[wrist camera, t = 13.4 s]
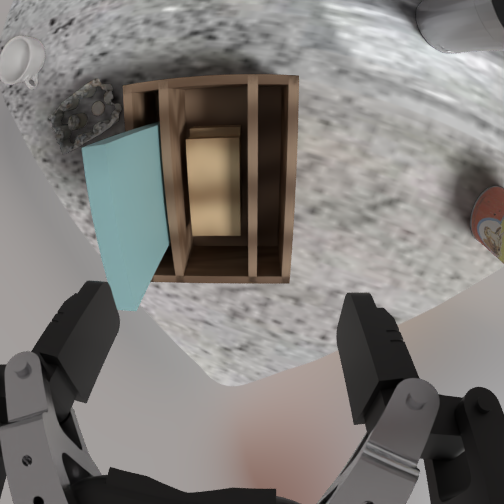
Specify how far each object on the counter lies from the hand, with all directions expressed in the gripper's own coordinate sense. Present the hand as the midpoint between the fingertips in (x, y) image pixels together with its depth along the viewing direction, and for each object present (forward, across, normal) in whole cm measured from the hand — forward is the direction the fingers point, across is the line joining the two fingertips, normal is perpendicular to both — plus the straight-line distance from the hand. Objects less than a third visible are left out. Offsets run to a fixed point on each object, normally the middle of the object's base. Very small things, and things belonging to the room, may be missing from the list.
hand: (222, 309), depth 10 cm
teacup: (+33, +34, -15) cm, 49 cm away
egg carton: (+33, +23, -5) cm, 41 cm away
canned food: (+34, -44, +8) cm, 56 cm away
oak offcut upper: (+29, +4, +5) cm, 29 cm away
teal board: (+31, +11, +4) cm, 33 cm away
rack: (+33, +4, +4) cm, 33 cm away
